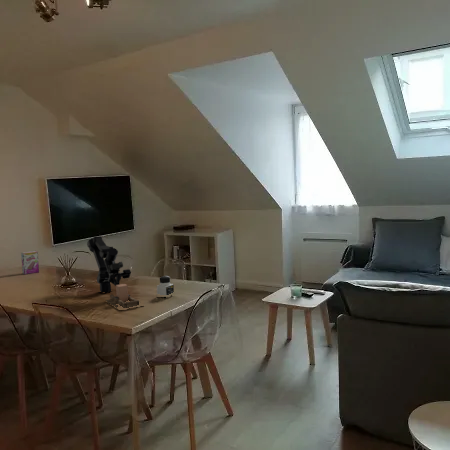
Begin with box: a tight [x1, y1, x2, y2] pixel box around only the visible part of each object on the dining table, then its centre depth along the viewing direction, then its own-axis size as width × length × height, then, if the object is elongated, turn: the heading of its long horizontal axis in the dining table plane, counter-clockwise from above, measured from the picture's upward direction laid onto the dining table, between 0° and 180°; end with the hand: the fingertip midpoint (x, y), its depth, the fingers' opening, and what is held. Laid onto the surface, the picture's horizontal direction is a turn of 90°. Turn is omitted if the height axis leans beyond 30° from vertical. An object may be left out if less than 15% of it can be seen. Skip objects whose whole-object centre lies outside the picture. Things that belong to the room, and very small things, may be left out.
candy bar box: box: [20, 250, 40, 275], centre depth 349 cm, size 11×5×16 cm, turn 130°
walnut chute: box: [105, 293, 140, 309], centre depth 256 cm, size 24×14×4 cm, turn 32°
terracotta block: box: [115, 283, 129, 302], centre depth 258 cm, size 5×5×9 cm
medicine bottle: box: [156, 275, 175, 295], centre depth 268 cm, size 7×7×12 cm
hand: (118, 287), depth 262 cm, fingers closed
